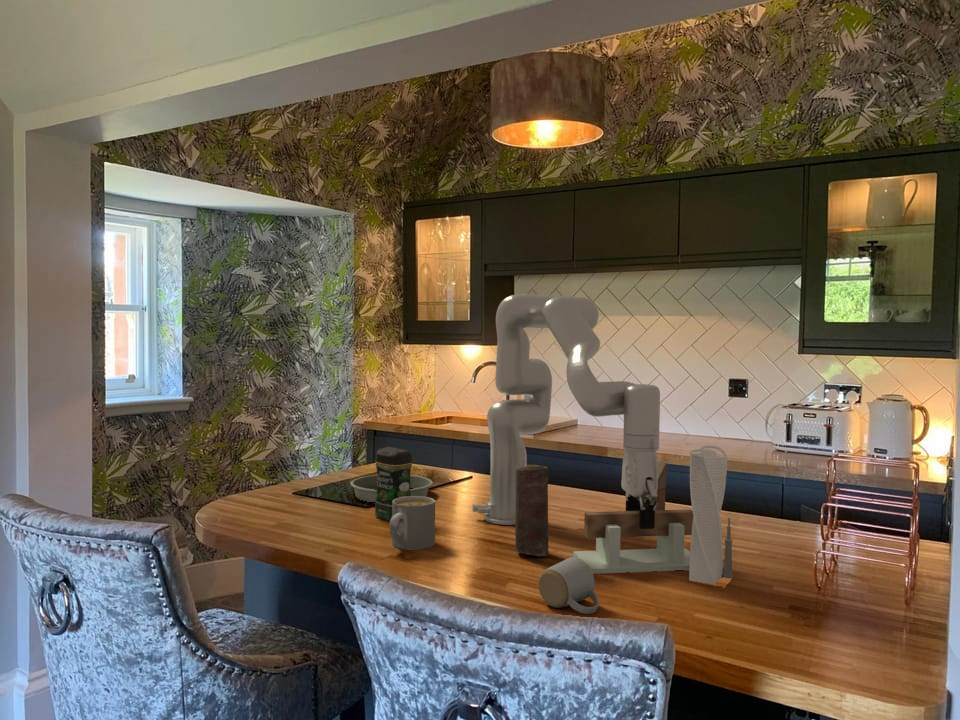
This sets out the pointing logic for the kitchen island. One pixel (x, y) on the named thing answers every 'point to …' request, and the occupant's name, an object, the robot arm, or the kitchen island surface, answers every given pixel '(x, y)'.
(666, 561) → the notched stand
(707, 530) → the skyscraper
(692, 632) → the kitchen island surface
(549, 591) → the ceramic mug
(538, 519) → the candle
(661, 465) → the brown wooden upright piece
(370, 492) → the cake pan
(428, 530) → the coffee mug
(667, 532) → the walnut rail
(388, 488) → the coffee jar
